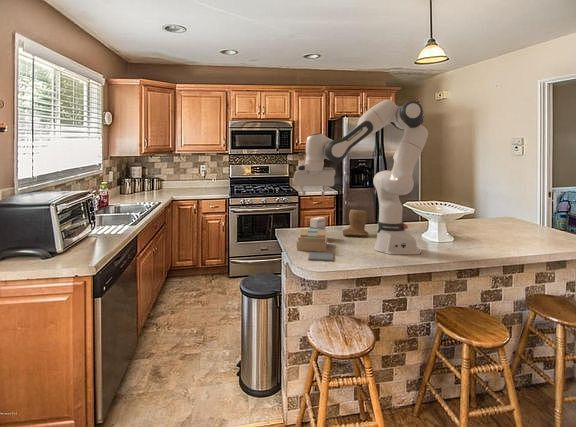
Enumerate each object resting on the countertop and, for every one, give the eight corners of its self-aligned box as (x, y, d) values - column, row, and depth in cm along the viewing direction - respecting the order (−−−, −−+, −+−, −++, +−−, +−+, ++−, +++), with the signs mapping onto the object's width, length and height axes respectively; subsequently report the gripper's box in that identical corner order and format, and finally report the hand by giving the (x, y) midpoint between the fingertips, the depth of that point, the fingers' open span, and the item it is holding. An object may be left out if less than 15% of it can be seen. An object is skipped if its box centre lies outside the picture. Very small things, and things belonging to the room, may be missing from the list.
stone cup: (366, 233, 230) (367, 208, 227) (369, 237, 218) (370, 211, 216) (340, 232, 231) (341, 207, 228) (342, 237, 219) (343, 211, 216)
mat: (333, 254, 183) (333, 252, 183) (333, 261, 172) (333, 259, 172) (309, 253, 184) (309, 251, 184) (308, 260, 174) (308, 258, 174)
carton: (326, 242, 205) (327, 229, 204) (326, 252, 186) (326, 238, 185) (299, 241, 207) (299, 228, 206) (296, 251, 188) (296, 237, 187)
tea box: (317, 245, 199) (317, 228, 198) (317, 248, 193) (317, 231, 192) (307, 245, 200) (308, 228, 198) (306, 248, 194) (307, 230, 192)
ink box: (318, 236, 219) (318, 216, 217) (325, 238, 216) (326, 217, 214) (309, 239, 212) (309, 218, 210) (316, 241, 209) (317, 219, 207)
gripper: (335, 167, 192) (334, 195, 194) (294, 166, 194) (293, 193, 196) (335, 167, 185) (334, 196, 188) (293, 166, 188) (292, 195, 190)
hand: (313, 195), depth 192 cm, fingers open, 8 cm apart
